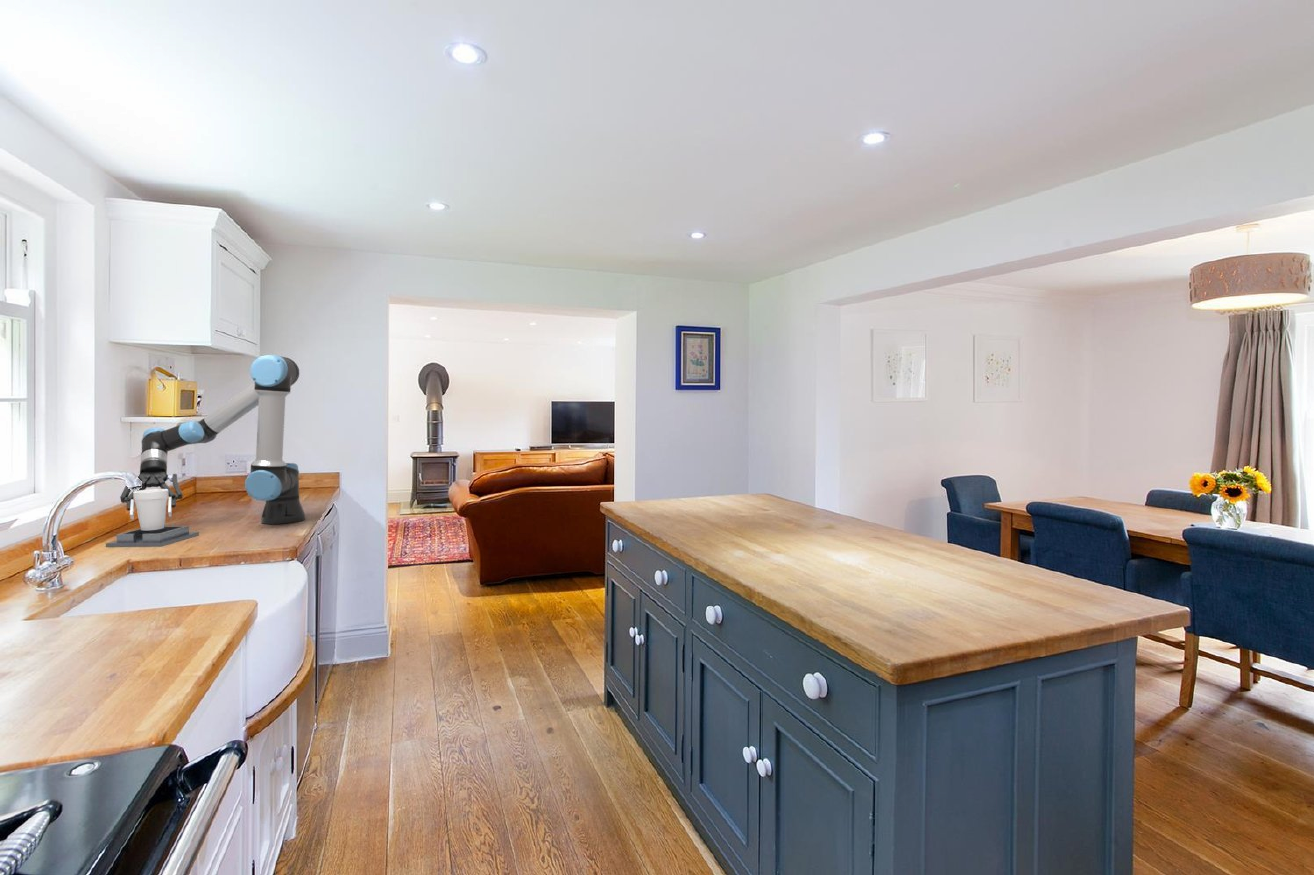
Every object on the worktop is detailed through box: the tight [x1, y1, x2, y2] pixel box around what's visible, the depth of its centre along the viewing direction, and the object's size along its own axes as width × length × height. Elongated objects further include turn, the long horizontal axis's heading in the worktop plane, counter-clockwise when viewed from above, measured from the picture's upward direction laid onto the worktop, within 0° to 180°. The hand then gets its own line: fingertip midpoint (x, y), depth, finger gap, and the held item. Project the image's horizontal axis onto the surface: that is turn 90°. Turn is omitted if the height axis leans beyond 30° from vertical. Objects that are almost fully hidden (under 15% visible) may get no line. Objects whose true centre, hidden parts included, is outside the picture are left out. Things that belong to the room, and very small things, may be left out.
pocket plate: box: [105, 525, 200, 548], centre depth 223 cm, size 18×18×4 cm
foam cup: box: [132, 488, 169, 530], centre depth 222 cm, size 10×9×13 cm
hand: (151, 515), depth 220 cm, fingers closed on foam cup, 9 cm apart
